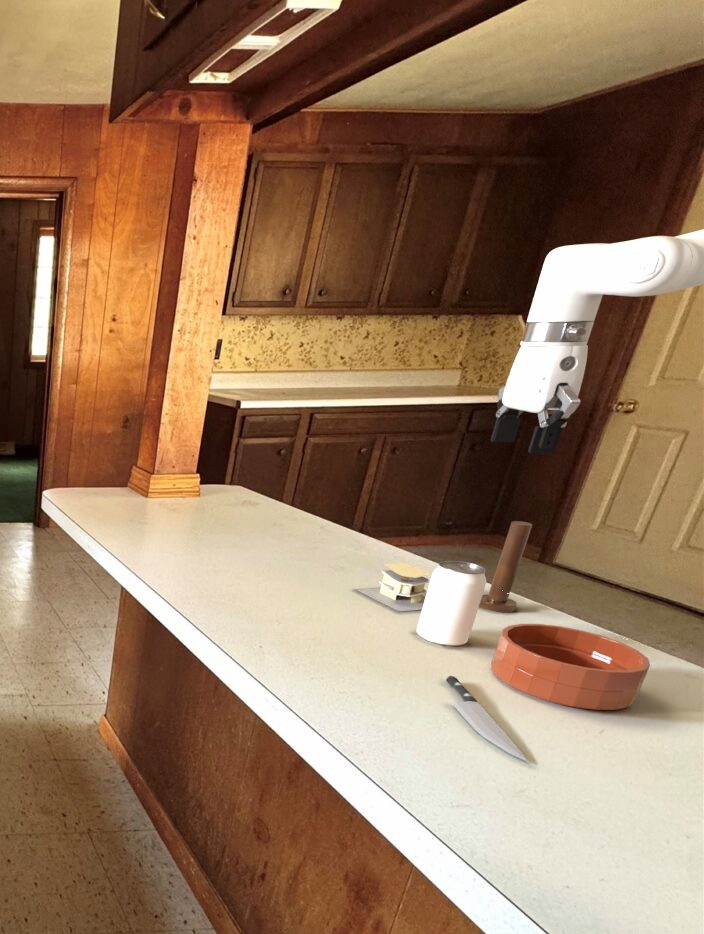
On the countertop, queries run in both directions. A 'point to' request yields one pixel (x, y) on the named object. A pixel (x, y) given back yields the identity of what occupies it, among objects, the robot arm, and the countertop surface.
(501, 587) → the brown post with base
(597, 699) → the bowl
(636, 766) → the countertop surface
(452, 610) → the can
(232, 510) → the countertop surface
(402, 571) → the stacked layers on plate
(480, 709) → the chef's knife
